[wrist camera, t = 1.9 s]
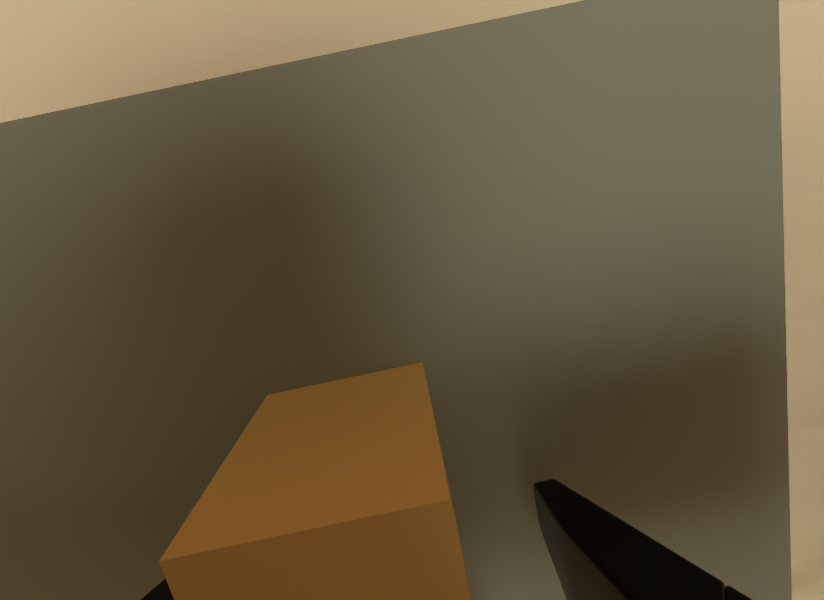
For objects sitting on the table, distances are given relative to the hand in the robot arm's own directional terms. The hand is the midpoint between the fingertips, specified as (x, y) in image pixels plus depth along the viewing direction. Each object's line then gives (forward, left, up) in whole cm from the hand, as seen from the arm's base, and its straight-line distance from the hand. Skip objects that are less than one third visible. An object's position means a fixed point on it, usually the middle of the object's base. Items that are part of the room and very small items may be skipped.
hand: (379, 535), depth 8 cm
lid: (0, 0, -2) cm, 2 cm away
